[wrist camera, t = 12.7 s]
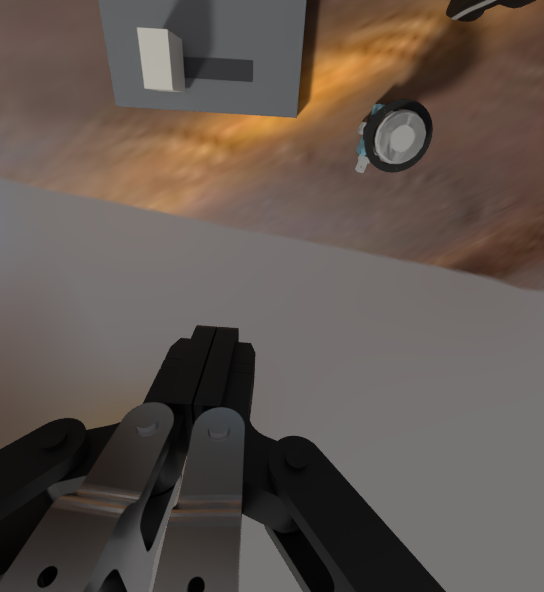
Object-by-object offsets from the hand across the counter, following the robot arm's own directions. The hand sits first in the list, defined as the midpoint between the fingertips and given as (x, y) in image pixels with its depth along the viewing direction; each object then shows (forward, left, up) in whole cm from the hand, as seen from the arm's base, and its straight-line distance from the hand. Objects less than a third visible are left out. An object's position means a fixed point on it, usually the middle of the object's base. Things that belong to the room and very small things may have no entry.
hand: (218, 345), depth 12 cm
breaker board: (+6, -16, -29) cm, 33 cm away
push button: (-11, -6, -29) cm, 32 cm away
